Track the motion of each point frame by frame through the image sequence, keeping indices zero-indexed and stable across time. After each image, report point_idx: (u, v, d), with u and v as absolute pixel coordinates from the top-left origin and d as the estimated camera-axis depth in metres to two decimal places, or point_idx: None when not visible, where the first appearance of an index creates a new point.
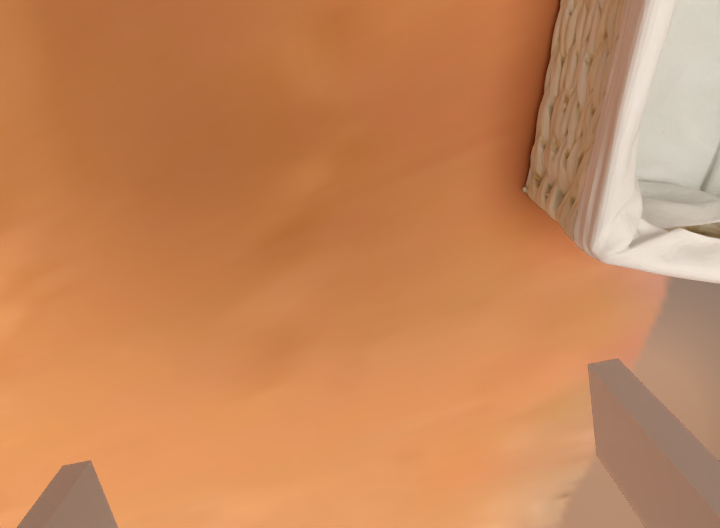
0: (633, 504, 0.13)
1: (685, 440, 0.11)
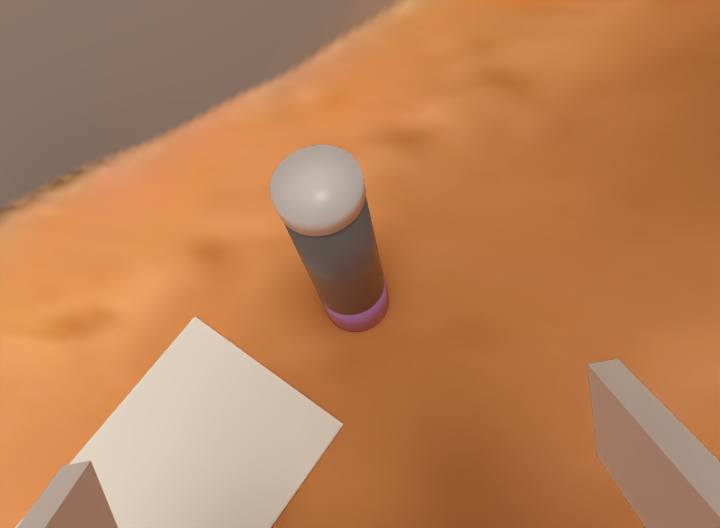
0: (633, 504, 0.13)
1: (685, 441, 0.11)
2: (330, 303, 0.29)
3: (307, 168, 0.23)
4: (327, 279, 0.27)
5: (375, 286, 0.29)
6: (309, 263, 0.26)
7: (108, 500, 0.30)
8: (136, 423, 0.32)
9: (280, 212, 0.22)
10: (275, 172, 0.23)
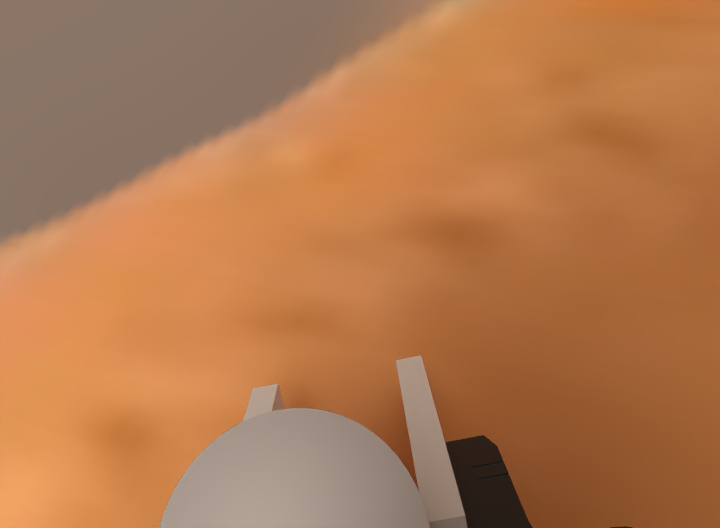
0: None
1: (429, 422, 0.13)
2: None
3: (266, 492, 0.08)
4: None
5: None
6: None
7: None
8: None
9: None
10: (173, 500, 0.08)
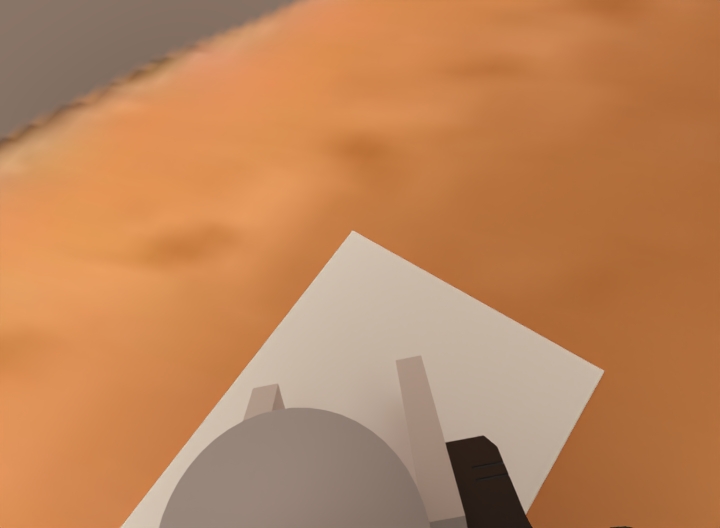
0: None
1: (429, 422, 0.13)
2: None
3: (266, 491, 0.08)
4: None
5: None
6: None
7: None
8: (287, 376, 0.22)
9: None
10: (173, 500, 0.08)
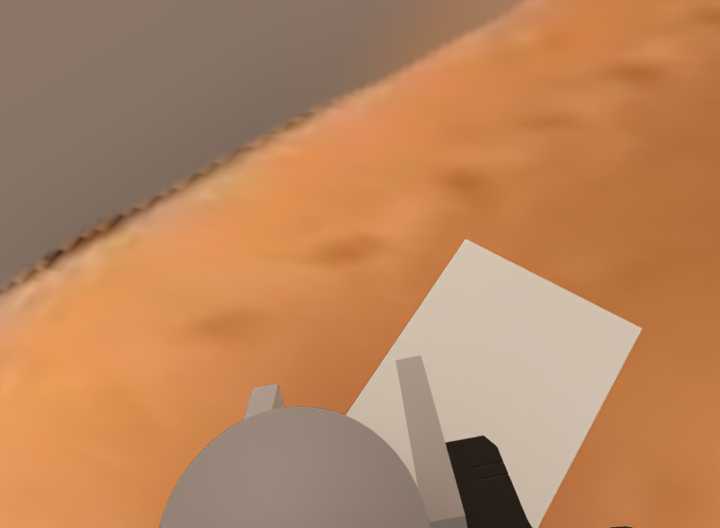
0: None
1: (429, 422, 0.13)
2: None
3: (266, 490, 0.08)
4: None
5: None
6: None
7: None
8: (432, 336, 0.33)
9: None
10: (173, 499, 0.08)
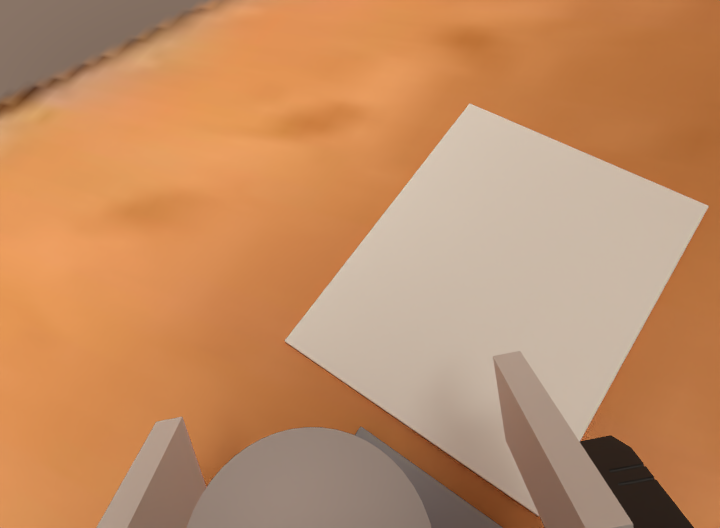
0: (526, 482, 0.15)
1: (554, 422, 0.12)
2: None
3: (282, 506, 0.09)
4: None
5: None
6: None
7: (407, 303, 0.23)
8: (422, 218, 0.25)
9: None
10: (195, 513, 0.09)
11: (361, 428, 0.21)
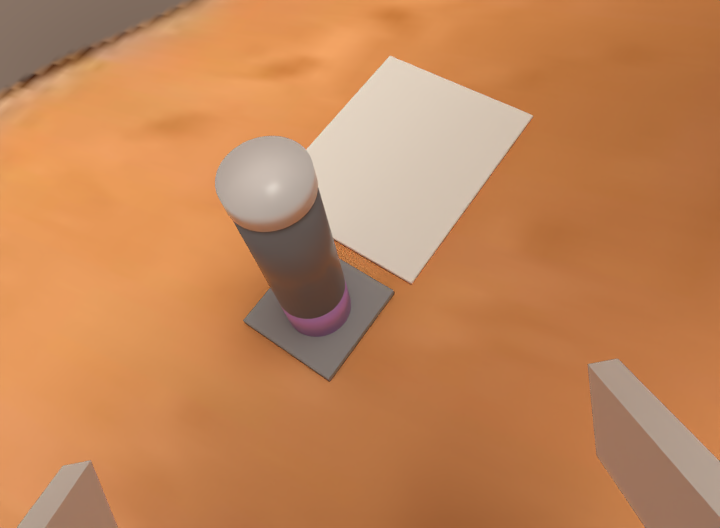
0: (633, 504, 0.13)
1: (685, 440, 0.11)
2: (287, 306, 0.28)
3: (255, 160, 0.22)
4: (281, 280, 0.25)
5: (334, 288, 0.28)
6: (261, 262, 0.24)
7: (341, 174, 0.36)
8: (354, 125, 0.38)
9: (225, 206, 0.21)
10: (221, 164, 0.22)
11: None
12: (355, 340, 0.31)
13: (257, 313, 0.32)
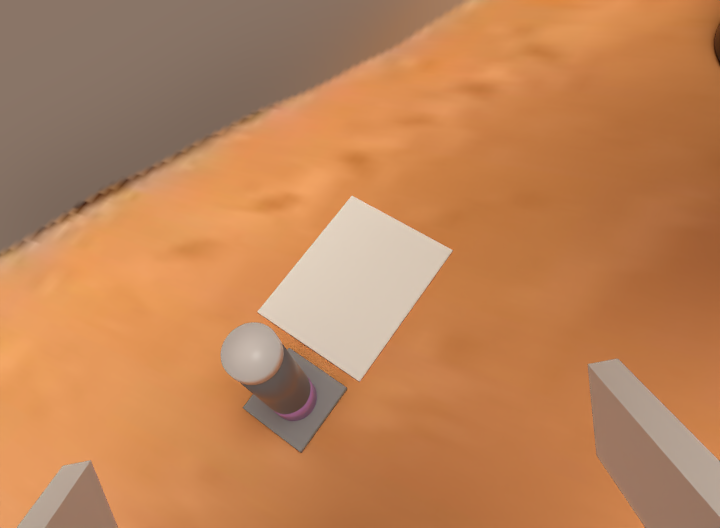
0: (633, 504, 0.13)
1: (685, 441, 0.11)
2: None
3: (245, 340, 0.36)
4: (264, 399, 0.39)
5: (301, 397, 0.42)
6: (251, 391, 0.38)
7: (313, 294, 0.50)
8: (323, 254, 0.52)
9: (227, 371, 0.35)
10: (224, 342, 0.36)
11: (289, 348, 0.48)
12: (319, 424, 0.45)
13: (252, 402, 0.46)
